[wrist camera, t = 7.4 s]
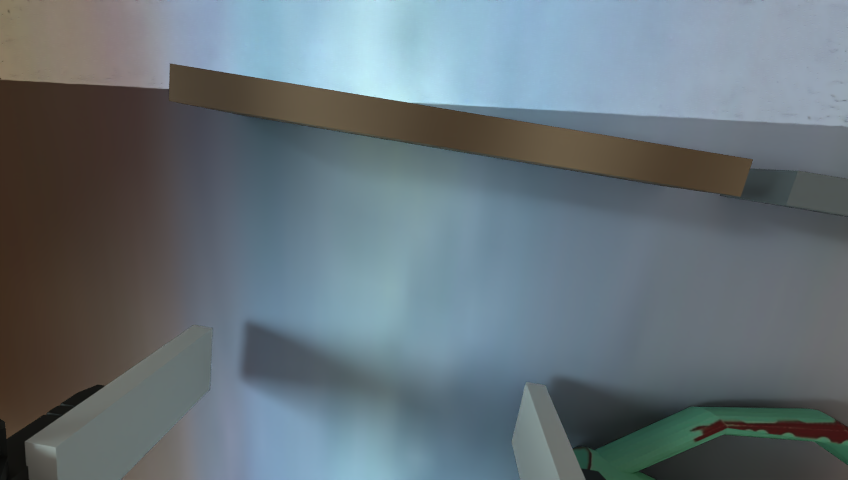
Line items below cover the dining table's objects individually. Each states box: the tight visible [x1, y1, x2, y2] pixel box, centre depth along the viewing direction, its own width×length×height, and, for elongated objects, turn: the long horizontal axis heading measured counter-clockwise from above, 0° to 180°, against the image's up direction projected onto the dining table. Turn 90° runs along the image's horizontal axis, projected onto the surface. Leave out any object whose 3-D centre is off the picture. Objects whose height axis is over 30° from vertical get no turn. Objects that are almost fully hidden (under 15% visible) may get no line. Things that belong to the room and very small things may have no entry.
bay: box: [169, 64, 753, 197], centre depth 15 cm, size 16×22×4 cm
